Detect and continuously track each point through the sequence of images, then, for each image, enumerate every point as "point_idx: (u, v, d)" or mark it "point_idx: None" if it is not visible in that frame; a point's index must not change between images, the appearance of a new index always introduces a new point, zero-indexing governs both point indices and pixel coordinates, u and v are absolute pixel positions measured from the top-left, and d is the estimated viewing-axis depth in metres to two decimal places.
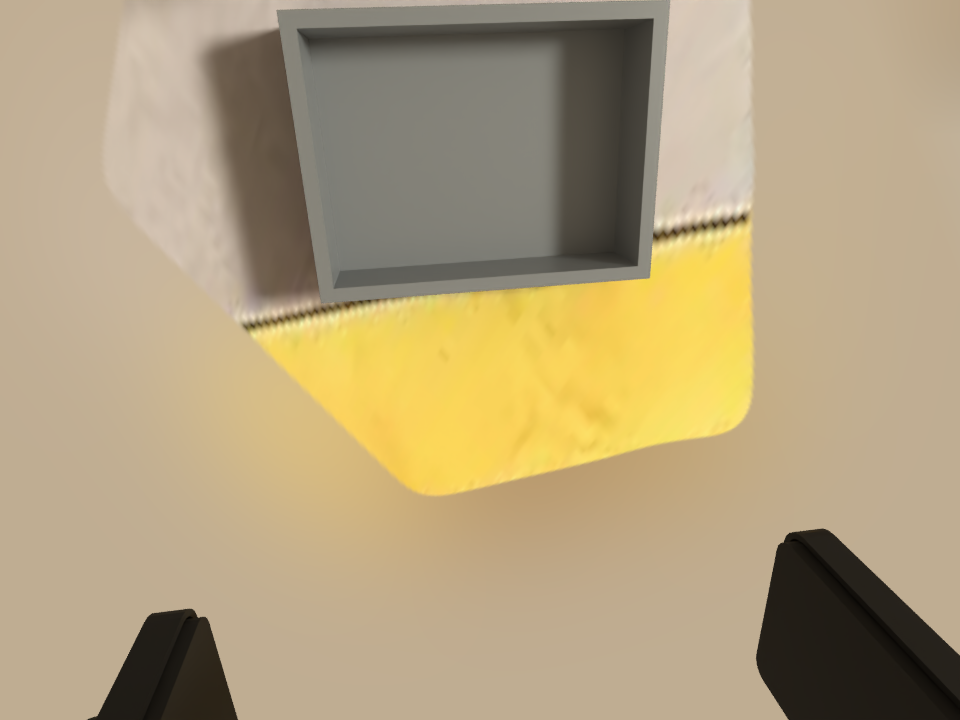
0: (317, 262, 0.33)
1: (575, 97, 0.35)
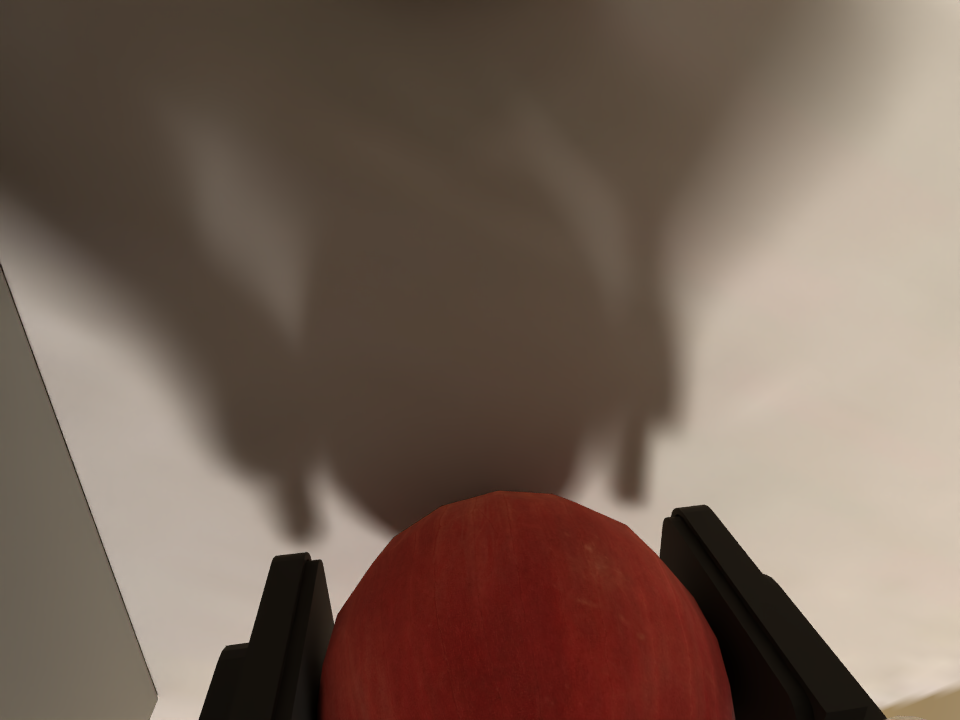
0: None
1: None
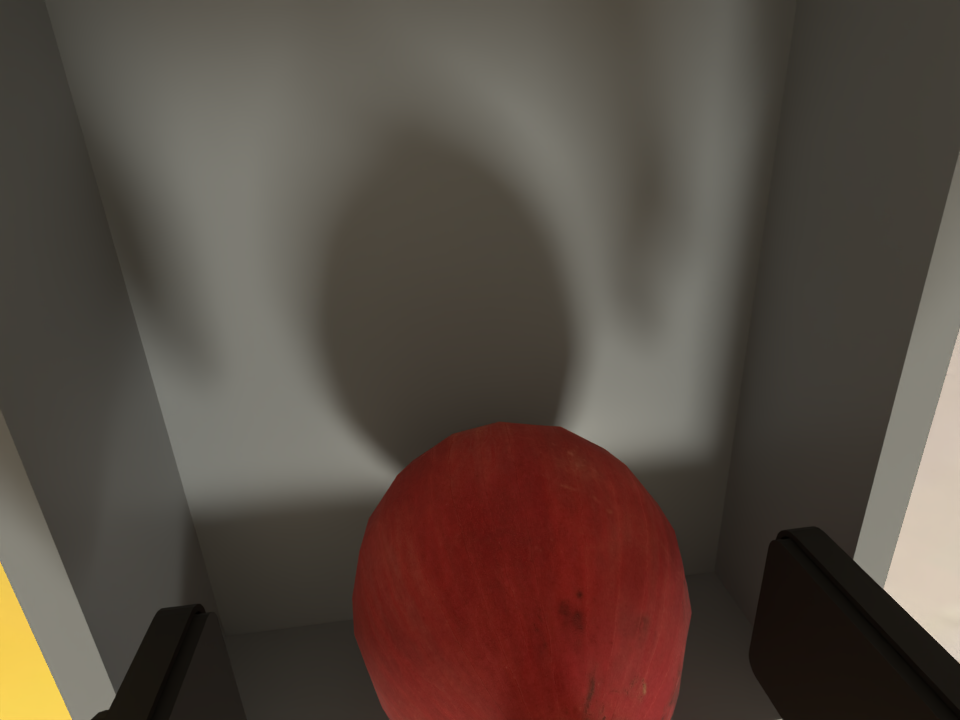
0: None
1: None
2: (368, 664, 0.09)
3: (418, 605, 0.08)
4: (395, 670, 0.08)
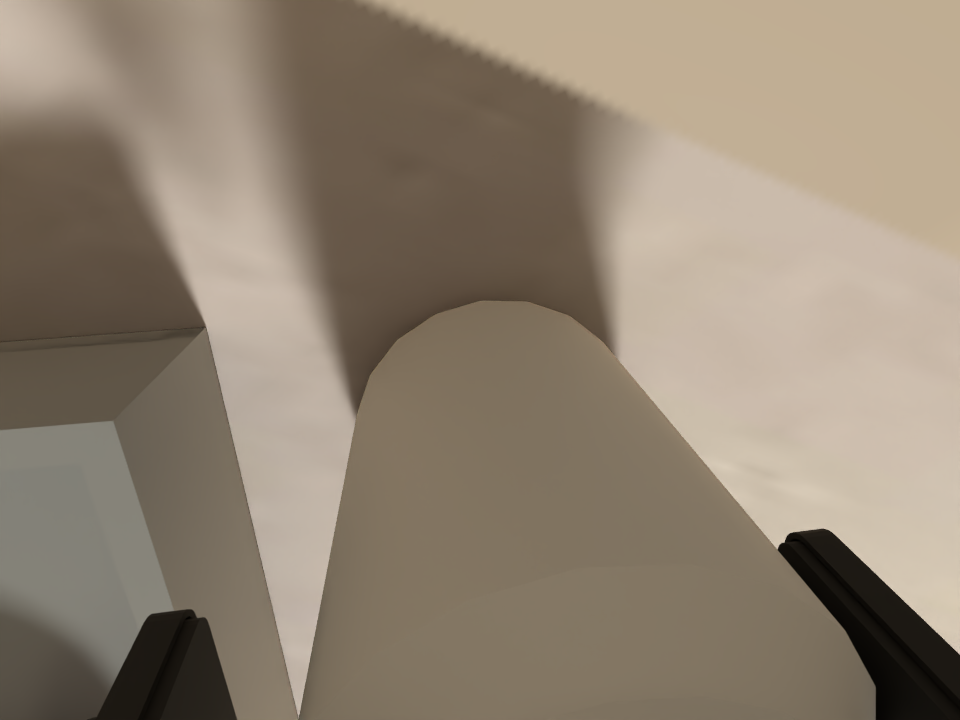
0: None
1: None
2: None
3: None
4: None
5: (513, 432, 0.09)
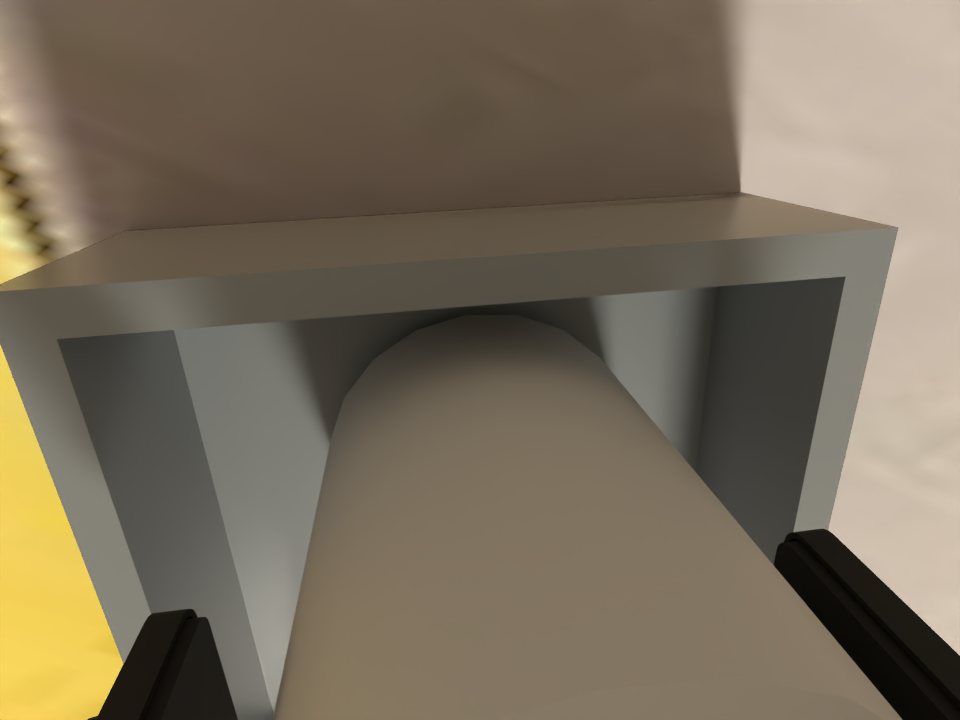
0: (152, 289, 0.09)
1: None
2: None
3: None
4: None
5: (505, 484, 0.07)
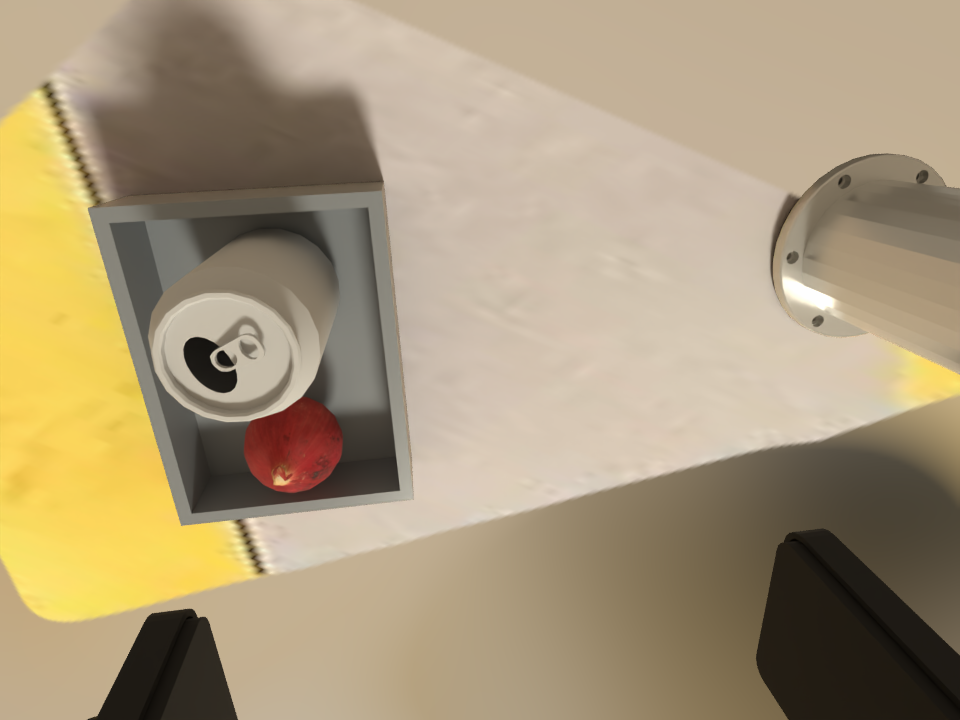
0: (137, 207, 0.30)
1: (344, 426, 0.41)
2: (245, 456, 0.35)
3: (254, 437, 0.34)
4: (249, 454, 0.34)
5: (224, 254, 0.28)
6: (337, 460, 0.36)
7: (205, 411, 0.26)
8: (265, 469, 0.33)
